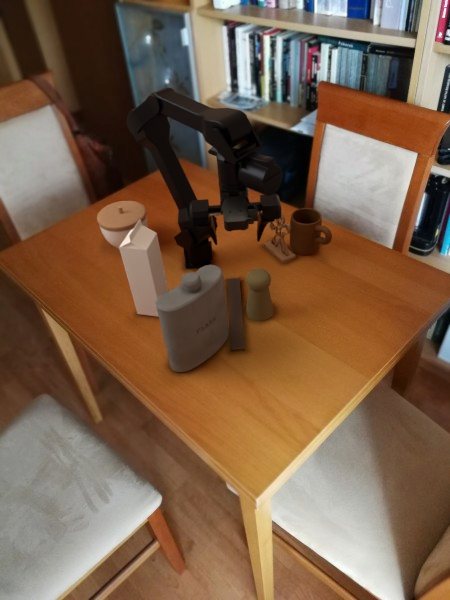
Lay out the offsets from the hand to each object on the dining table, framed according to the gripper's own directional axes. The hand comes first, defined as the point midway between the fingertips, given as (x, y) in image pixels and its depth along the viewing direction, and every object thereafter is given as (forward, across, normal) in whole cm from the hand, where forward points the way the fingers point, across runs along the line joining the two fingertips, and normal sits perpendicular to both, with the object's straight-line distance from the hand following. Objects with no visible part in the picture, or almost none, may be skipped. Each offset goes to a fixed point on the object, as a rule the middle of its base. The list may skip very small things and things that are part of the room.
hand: (237, 242), depth 104 cm
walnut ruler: (+12, -2, -10) cm, 16 cm away
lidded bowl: (+12, -29, +20) cm, 37 cm away
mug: (+12, +18, +10) cm, 24 cm away
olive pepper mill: (+12, +4, -10) cm, 16 cm away
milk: (+12, -20, -6) cm, 24 cm away
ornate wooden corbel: (+12, +11, +11) cm, 19 cm away
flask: (+12, -9, -20) cm, 25 cm away
